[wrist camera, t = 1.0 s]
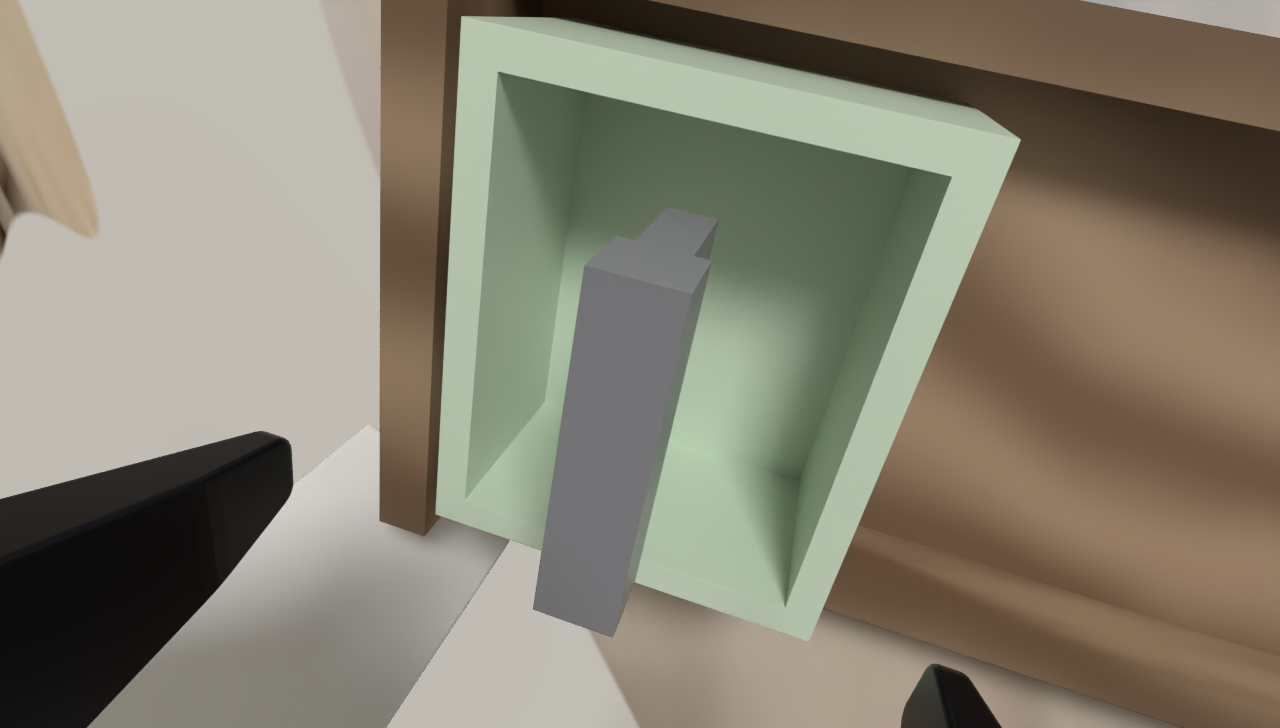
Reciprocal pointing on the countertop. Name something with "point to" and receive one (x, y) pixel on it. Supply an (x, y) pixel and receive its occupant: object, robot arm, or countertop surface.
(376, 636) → the milk carton
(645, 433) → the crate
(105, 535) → the robot arm
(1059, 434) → the bay
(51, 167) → the countertop surface
